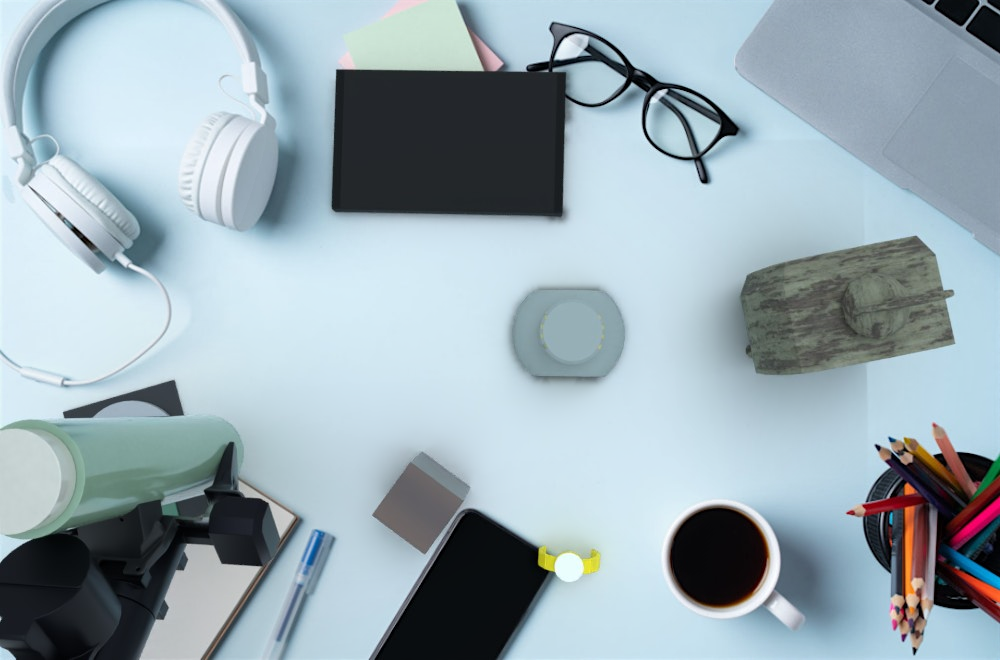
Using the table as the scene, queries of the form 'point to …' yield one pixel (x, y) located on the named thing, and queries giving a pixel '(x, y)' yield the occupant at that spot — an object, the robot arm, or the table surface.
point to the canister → (104, 467)
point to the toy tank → (846, 308)
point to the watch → (569, 564)
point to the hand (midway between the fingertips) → (192, 441)
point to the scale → (144, 404)
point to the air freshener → (569, 333)
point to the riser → (422, 502)
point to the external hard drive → (449, 142)
